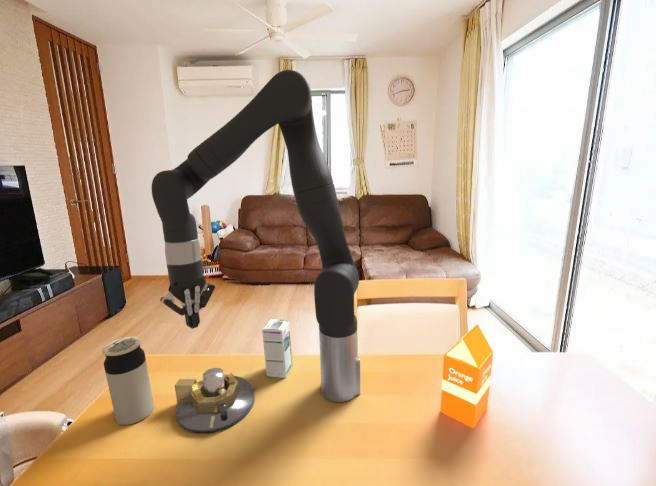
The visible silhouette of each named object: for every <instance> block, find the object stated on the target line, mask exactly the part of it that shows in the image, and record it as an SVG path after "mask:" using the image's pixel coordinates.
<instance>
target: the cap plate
mask: <svg viewBox="0 0 656 486" xmlns="http://www.w3.org/2000/svg"><path fill="white" fill-rule="evenodd" d="M224 374H225V373H224V370H223V369H222V368H221V367H212V368H209V369H207V370H205V372H203V374H202V380H203V382H204V389H205V395H204V397H217V396H219V395H218V391H220V390H222V389H225V382H224ZM234 378H235V380H237V381H238V386H239V394H238V396H237V399H236V401H235V403H234V405H232V406H230V407H228V408H227V407H226V403H222V404H220V412H219V413H218V414H199V412H198V411H197V410H196V409H195V407H194V406H193V405H192V402H177V403H176V407H175V417H176V421H177V423H178V425H179V426H180V428H181V429H183V430H184V431H186V432H189V433H192V434H196V435H198V434H199V435H207V434H209V435H210V434H214V433H218V432H222V431H224V430H226V429H229V428H232V427H234V426H235V425H237V424H238V423H240V422H241V421H242V420H244V419H245V418H246V417H247V416H248V415H249V413H250V412H251V410H252V408H253V407H254V404H255V402H256V396H255V389H254V386H253V385H252V383H251V382H250V381H249V380H248V379H245V378H244V377H241V376H236V375H234ZM225 390H226V391H227V389H225Z"/></svg>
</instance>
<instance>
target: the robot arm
mask: <svg viewBox="0 0 656 486" xmlns="http://www.w3.org/2000/svg"><path fill="white" fill-rule="evenodd" d="M312 99H313V97H312V90H311V87H310V84H309V81H308V80H307V78H306V77H305V76H304V75H303V74H302V73H301V72H299V71H296V70H294V69H293V70H292V69H285V70H281V71H278V72H276V73H275V74H274V75H273V76H272V77H271V78H270V79H269V81H267V83H266V84H265V85H264V86H263V87H262V88H261V89H260V91H258V93H257V94H256V95H255V96H254V97H253V98H252V99H251V100H250V101H249V102H248V103H247V104H246V105H245V106H244V107H243V108H242V109H241V110H239V112H238V113H237V114H236V115H234V116H233V117H232V118H231V119H230V120H228V121H227V122H226V123H225V124H224V125H223V126H221V127H220V128H219V129H218V130H216V131H215V132H214V133H212V134H211V135H210V136H209V137H207V138H206V139H205V140H204V141H202V142H201V143H200V144H198V145H196V147H194V148H193V149H192V150H191V151H190V152H189V153H188V154H187V157H186V158H187V159H185V160H183V162H181V163H180V164H179V165H177V167H175V168H172V169H166V170H161V171H159V172H158V173H156V174H155V175H154V177H153V178H152V181H151V196H152V200H153V203H154V206H155V209H156V211H157V214H158V216H159V218H160V221H161V225H162V231H163V232H162V233H163V238H164V239H163V240H164V255H165V262H166V267H167V275H168V281H169V286H168V292H167V293H166V295H165V296H162V297H160V299H159V300H160V302H161V303H162V304H164V305H165V306H166V307H168V308H170V310H172V311H173V312H175V313H176V314H178V315H180V316H184V318H185V319H184V320H185V325H186V326H187V327H188V328H190V329H192V330H193V329H196V328H198V327H199V325H200V324H201V323H200V322H201V318H200V311H201V310H202V309H204V308H206V306H207V304H209V300H210V298H211V297H212V295H213V293H214V291H215V289H216V285H214V284H213V283H210V282H207V280H206V278H205V277H204V265H203V259H202V249H201V245H200V240H199V236H198V225H197V220H196V217H195V216H194V214H192V213H191V212H190V207H189V202H188V199H190V198H192V197H193V196H195V194H197V193H198V192H199V191H200V190H201V189H202V188H203V187H204V186H205V185H206V184H207V183H208V182H210V180H212V179H213V178H216V176H218V175H220V174H221V173H222V172H223V171H225V170H226V169H228V167H230V166H231V165H233V163H235V162H236V161H238V159H239V158H241V157H242V155H244V154H245V152H246V151H247V150H248V149H249V148H250V147H251V146H252V145H253V144H254V143H255V142H256V141H257V140H258V139H259V138H260V137H261V136H262V135H263V134H265V133H266V132H267V131H269V130H270V129H272V128H273V127H275V126H276V125H278V126H279V129H280V131H281V134H282V137H283V140H284V143H285V146H286V150H287V157H288V167H289V175H290V176H289V177H290V181H291V186H292V191H293V195H294V199H295V203H296V206H297V210H298V213H299V215H300V218H301V220H302V221H303V224H304V225H305V226H306V229H307V230H308V232H310V235H311V236H312V237H313V239H314V241H315V243H316V245H317V248H318V249H317V250H318V251H319V253H318V254H319V256H320V257H319V258H320V260H321V261H320V262H321V266H322V270H321V271H320V272H319V274H318V275H317V277H316V279H315V281H314V286H313V292H314V293H313V297H314V311H315V318H316V321H317V325H318V335H319V361H320V389H321V394H322V396H323V397H324V398H325V399H326V400H329V401H330V402H333V403H334V402H335V403H343V402H344V403H345V402H348V401H350V400H353V399H354V398H355V397H356V396H358V395H361V360H360V358H359V356H358V318H357V316H356V315H355V293H356V291H357V290H358V287H359V284H360V277H359V272H358V268H357V266H356V263H355V260H354V258H353V255H352V252H351V250H350V248H349V245H348V241H347V237H346V234H345V233H346V232H345V227H344V223H343V218H342V213H341V210H340V205H339V201H338V200H339V199H338V196H337V191H336V189H335V188H336V187H335V184H334V180H333V178H332V176H333V175H332V174H331V171H330V168H329V165H328V163H327V161H326V157H325V155H324V152H323V151H322V148H321V145H320V142H319V140H318V135H317V130H316V125H315V119H314V113H313V100H312ZM174 298H175V299H177V300H178V301H179V302H180V304H181V307H180V306H179V305H177V304H176V303H175V299H174Z"/></svg>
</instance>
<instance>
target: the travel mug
mask: <svg viewBox="0 0 656 486" xmlns="http://www.w3.org/2000/svg"><path fill="white" fill-rule="evenodd" d="M141 344H142V339H141V338H140V337H138V336H126V337H120V338H118V339H115V340H113V341H110V342H109V343H107V344H106V345H104V347H103V348H102V351H101V353H102V354H103V355H104V357H105V358H104V362H103V367H104V368H103V369H104V372H105V376H106V382H107V386H108V391H109V395H110V400H111V404H112V405H111V406H112V408H113V413H114V418H115V421H116V423H117V424H119V425H126V426H127V425H132V424H136V423H138V422H141V421H142V420H144V419H145V418H147V417H148V416H149V415H150V414H151V413H152V412H153V411H154V407H155V402H154V397H153V392H152V386H151V381H150V375H149V370H148V365H147V364H148V363H147V360H146V353H145V350H144V349H143V348H142V347H141Z"/></svg>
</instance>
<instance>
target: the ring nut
mask: <svg viewBox="0 0 656 486" xmlns="http://www.w3.org/2000/svg"><path fill="white" fill-rule="evenodd" d="M223 374H224V382H225V389H227V391H226V390H225V389H222V390H220V391H218V395H219V396H217V397H204V395H205V389H204V382H203V379H202V380H199V381H197V379H196V378H179V379H178V380H177V381H176V383H175V384H174V392H175V397H176V402H177V403H178V402H192V405H193V406H194V407H195V409H196V410H197V411H198V412H199V414H218V413H219V412H220V404H222V403H226V407H227V408H228V407H230V406H232V405H234V403H235V401H236V399H237V396H238V394H239V386H238V381H237V380H235V378H234V376H235V374H234V373H232V372H230V373H229V374H226V373H223Z"/></svg>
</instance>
